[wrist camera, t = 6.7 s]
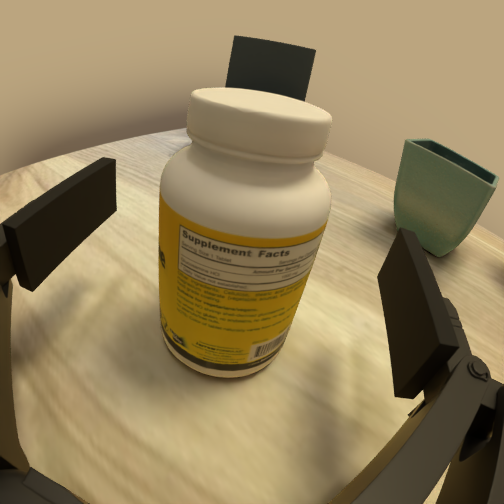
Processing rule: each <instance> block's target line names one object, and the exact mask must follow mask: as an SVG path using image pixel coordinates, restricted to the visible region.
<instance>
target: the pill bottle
mask: <svg viewBox="0 0 504 504" xmlns="http://www.w3.org/2000/svg"><path fill="white" fill-rule="evenodd" d="M331 123H332V117H331V115H330V114H329V113H328V112H326V111H324V110H323V109H320V108H318V107H316V106H314V105H312V104H309V103H306V102H303V101H300V100H297V99H293V98H290V97H286V96H282V95H278V94H273V93H268V92H262V91H256V90H248V89H239V88H204V89H198V90H195V91H193V92H192V93H191V95H190V101H189V108H188V115H187V122H186V125H187V127H188V128H187V134H188V136H189V137H190V139H192V140H193V141H192V144H191V145H189V146H186V147H185V148H183V149H181V150H180V151H178V152H177V153H176V154H174V155H173V156H172V157H171V159H170V160H169V161H168V162H167V164H166V165H165V167H164V170H163V173H162V176H161V183H160V197H159V299H160V320H161V330H162V334H163V338H164V340H165V342H166V344H167V346H168V348H169V349H170V350H171V352H172V353H173V354H174V355H175V356H176V357H177V358H178V359H179V360H180V361H181V362H183V363H184V364H186V365H187V366H189V367H191V368H192V369H194V370H196V371H199V372H201V373H204V374H207V375H211V376H216V377H226V378H232V377H242V376H246V375H249V374H252V373H254V372H257V371H259V370H261V369H262V368H264V367H265V366H267V365H268V364H269V363H270V362H272V360H273V359H274V358H275V357H276V356H277V354H278V353H279V351H280V350H281V348H282V346H283V344H284V341H285V339H286V337H287V334H288V331H289V329H290V326H291V324H292V321H293V318H294V315H295V313H296V310H297V307H298V304H299V302H300V299H301V296H302V293H303V291H304V288H305V285H306V282H307V279H308V277H309V274H310V271H311V269H312V266H313V263H314V260H315V257H316V254H317V251H318V248H319V245H320V242H321V239H322V236H323V233H324V230H325V227H326V224H327V221H328V217H329V213H330V209H331V192H330V189H329V186H328V184H327V181H326V180H325V178H324V176H323V175H322V174H321V173H320V172H319V170H318V169H317V168H315V167H314V161H316V160H319V159H320V158H321V157H322V156H323V151H324V149H325V147H326V144H327V140H328V136H329V132H330V128H331Z"/></svg>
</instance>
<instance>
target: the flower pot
mask: <svg viewBox="0 0 504 504" xmlns="http://www.w3.org/2000/svg"><path fill="white" fill-rule="evenodd" d="M498 180H499V177H498V176H496V175H495V174H493V173H492V172H490V171H488V170H487V169H485V168H483V167H481V166H480V165H478V164H476V163H474V162H473V161H471V160H469V159H467V158H466V157H464V156H462V155H460V154H458V153H456V152H455V151H453V150H451V149H449V148H447V147H445V146H443V145H441V144H439V143H437V142H435V141H433V140H431V139H406V140H405V144H404V149H403V153H402V158H401V163H400V167H399V172H398V177H397V181H396V186H395V192H394V216H395V222H396V227H397V231H398V230H399V228H400V227H401V228H404V229H407V230H410V231H414V232H415V233H416V236H417V238H418V240H419V242H420V244H421V247H423V248H424V249H426V250H427V251H429V252H430V253H432V254H434V255H435V256H437V257H442V256H444V255H445V254H447V253H449V252H450V251H452V250H453V249H454V248H456V247H457V246H458V245H459V244H460V243H461V242H462V241H463V240H464V239H465V238H466V237H467V235H468V234H469V233H470V231H471V230H472V228H473V227H474V225H475V224H476V222H477V220H478V219H479V217H480V215H481V213H482V212H483V210H484V208H485V207H486V205H487V203H488V202H489V200H490V198H491V196H492V194H493V193H494V191H495V189H496V187H497V183H498Z"/></svg>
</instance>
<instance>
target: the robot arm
mask: <svg viewBox="0 0 504 504" xmlns="http://www.w3.org/2000/svg"><path fill="white" fill-rule="evenodd" d="M116 211H117V206H116V159H111V158H105V157H102V158H101V159H99V160H97V161H95V162H94V163H92V164H90V165H88V166H87V167H85V168H83V169H82V170H80V171H78V172H77V173H75V174H74V175H72V176H70V177H69V178H67V179H66V180H64V181H62V182H61V183H59V184H58V185H56V186H55V187H53V188H52V189H50V190H49V191H47V192H46V193H44V194H43V195H41V196H40V197H38V198H37V199H35V200H33V201H31V202H30V203H28V204H27V205H25V206H24V208H21V209H20V210H18V211H17V213H14V214H13V215H12V216H10V217H9V218H8V219H6V220H5V221H4V222H2V223H1V224H0V504H90V503H88V502H86V501H85V500H83V499H82V498H80V497H78V496H77V495H75V494H74V493H72V492H71V491H69V490H68V489H66V488H65V487H63V486H61V485H59V484H58V483H56V482H54V481H53V480H51V479H49V478H48V477H46V476H44V475H43V474H41V473H39V472H38V471H36V470H35V469H33V468H32V467H30V466H29V463H28V460H27V458H26V456H25V454H24V452H23V450H22V448H21V446H20V443H19V439H18V433H17V427H16V419H15V411H14V402H13V390H12V376H11V306H12V291H13V285H12V281H11V278H12V277H13V276H14V275H15V274H16V276H17V279H18V282H19V285H20V286H21V287H23V288H25V289H27V290H29V291H32V292H33V291H34V290H35V289H36V288H37V287H38V286H39V285H40V284H41V283H42V282H43V281H44V280H45V279H46V278H47V277H48V276H49V274H50V273H51V272H52V271H53V270H54V269H55V268H56V267H57V266H58V265H59V264H60V263H61V262H62V261H63V260H64V259H65V258H66V257H67V256H68V255H69V254H70V253H71V252H72V251H73V250H74V249H75V248H77V247H78V246H79V245H80V244H81V243H82V242H83V241H84V240H85V239H86V238H87V237H88V236H89V235H90V234H91V233H92V232H93V231H95V230H96V229H97V228H98V227H99V226H100V225H101V224H102V223H103V222H104V221H106V220H107V219H108V218H109V217H110V216H111V215H112V214H113V213H114V212H116ZM377 278H378V283H379V289H380V294H381V300H382V305H383V311H384V317H385V323H386V330H387V337H388V344H389V351H390V359H391V367H392V376H393V385H394V396H395V397H399V398H408V399H414V398H415V397H416V396H417V395H418V394H419V393H420V392H421V391H422V390H423V392H424V398H425V399H424V400H423V401H422V402H421V403H420V404H419V405H418V406H417V407H416V408H415V409H414V410H413V411H411V412H410V413H409V414H408V416H409V418H408V419H407V421H406V422H405V423H404V424H403V425H402V427H401V428H400V429H399V430H398V432H397V433H396V434H395V435H394V436H393V438H392V439H391V440H390V441H389V442H388V443H387V444H386V446H385V447H384V448H383V449H382V450H381V451H380V452H379V453H378V455H377V456H376V457H375V458H374V459H373V460H372V461H371V462H370V463H369V464H368V465H367V466H366V467H365V468H364V469H363V470H362V472H361V473H360V474H359V475H358V476H357V477H356V478H355V479H354V480H353V481H352V482H351V483H349V484H348V485H347V486H346V487H345V488H344V489H343V490H342V491H341V492H340V493H339V494H338V495H337V496H336V497H335V498H334V499H332V500H331V501H330V502H329V503H328V504H423V503H424V501H425V500H426V498H427V497H428V496H429V494H430V493H431V491H432V490H433V488H434V487H435V485H436V484H437V482H438V481H439V479H440V478H441V476H442V475H443V473H444V471H445V470H446V468H447V467H448V465H449V463H450V465H449V469H448V472H447V474H446V477H445V480H444V483H443V486H442V488H441V491H440V494H439V496H438V499H437V501H436V504H504V384H502V383H500V382H498V381H496V380H494V379H492V378H491V376H490V371H489V369H488V367H487V366H486V364H485V363H484V362H483V361H482V360H481V359H479V358H478V357H476V356H474V355H472V353H471V350H470V347H469V344H468V341H467V338H466V335H465V333H464V330H463V329H462V324H461V322H460V321H459V316H458V314H457V311H456V308H455V307H454V306H453V304H452V303H451V302H450V301H449V299H448V298H444V297H442V295H441V292H440V289H439V287H438V284H437V282H436V279H435V277H434V274H433V272H432V270H431V267H430V265H429V262H428V260H427V258H426V256H425V253H424V251H423V249H422V247H421V244H420V242H419V240H418V238H417V236H416V233H415V232H414V231H410V230H407V229H404V228H401V227H400V228H399V230H398V233H397V235H396V237H395V239H394V242H393V244H392V246H391V248H390V251H389V253H388V255H387V257H386V259H385V261H384V263H383V266H382V268H381V270H380V272H379V274H378V276H377Z"/></svg>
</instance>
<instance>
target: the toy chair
mask: <svg viewBox="0 0 504 504" xmlns="http://www.w3.org/2000/svg"><path fill="white" fill-rule="evenodd" d="M315 53H316V50H314V49H310V48H305V47H301V46H296V45H291V44H286V43H281V42H275V41H270V40H263V39H257V38H251V37H243V36H234V40H233V47H232V52H231V57H230V62H229V68H228V74H227V80H226V86H225V88H239V89H248V90H256V91H262V92H268V93H273V94H278V95H282V96H286V97H290V98H293V99H297V100H300V101H303V102H305V97H306V93H307V89H308V84H309V80H310V75H311V71H312V67H313V62H314V57H315Z"/></svg>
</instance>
